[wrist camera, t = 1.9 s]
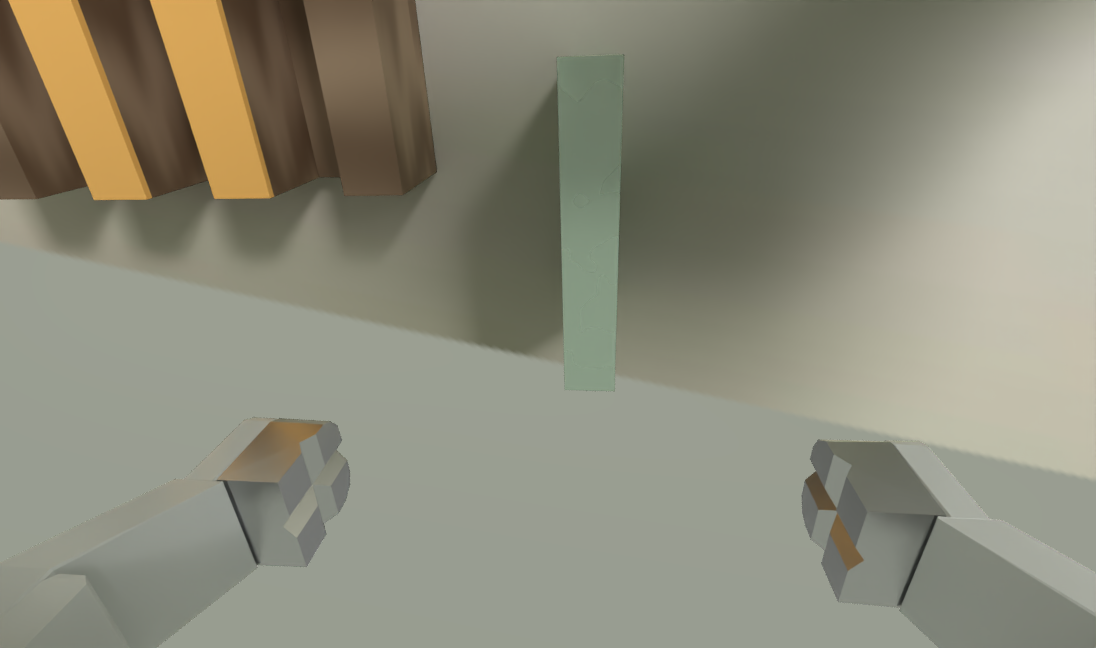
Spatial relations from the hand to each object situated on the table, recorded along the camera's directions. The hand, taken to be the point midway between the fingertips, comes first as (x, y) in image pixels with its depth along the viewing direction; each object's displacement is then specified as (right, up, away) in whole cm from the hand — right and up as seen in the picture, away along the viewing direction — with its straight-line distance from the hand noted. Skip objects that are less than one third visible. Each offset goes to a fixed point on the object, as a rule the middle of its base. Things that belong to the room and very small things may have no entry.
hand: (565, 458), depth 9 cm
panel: (+2, +9, +17) cm, 20 cm away
